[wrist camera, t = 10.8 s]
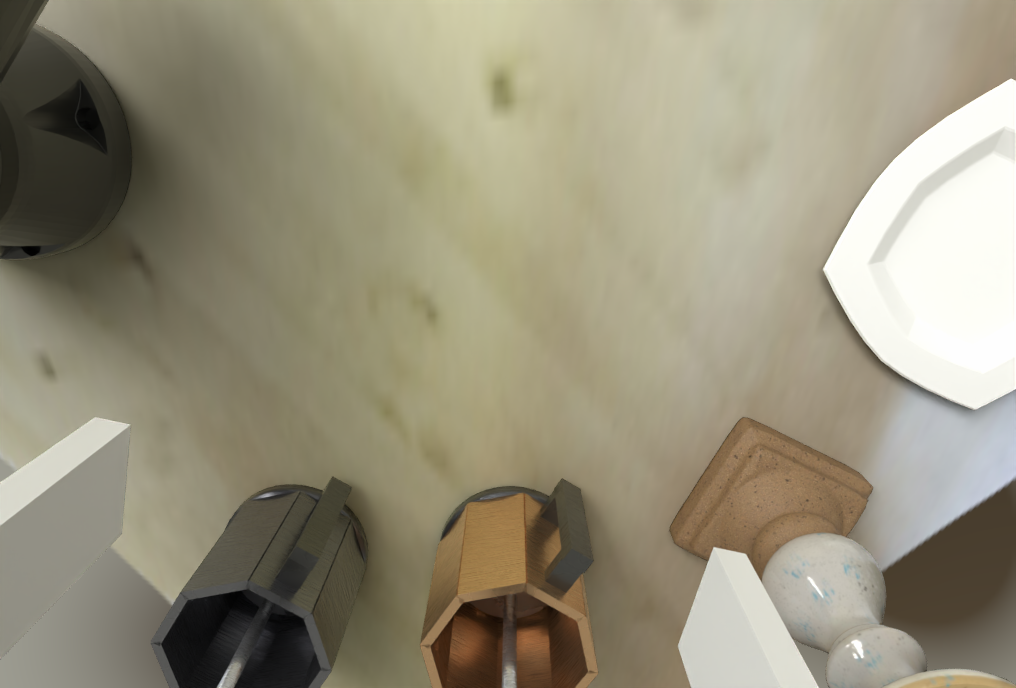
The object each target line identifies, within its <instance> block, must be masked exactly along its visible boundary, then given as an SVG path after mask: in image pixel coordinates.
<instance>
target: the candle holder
mask: <svg viewBox="0 0 1016 688" xmlns="http://www.w3.org/2000/svg"><path fill="white" fill-rule="evenodd" d="M872 490H873V486H872V485H871V484H870V483H869V482H868V481H867V480H866V479H865V478H864V477H863V476H862V475H861V474H860V473H859V472H857V471H855V470H853V469H852V468H850V467H848V466H846V465H845V464H842V463H840V462H838V461H836V460H834V459H832V458H830V457H828V456H826V455H824V454H822V453H820V452H818V451H816V450H814V449H812V448H810V447H808V446H806V445H804V444H802V443H800V442H798V441H796V440H794V439H792V438H790V437H788V436H786V435H784V434H782V433H780V432H778V431H776V430H774V429H772V428H769V427H767V426H765V425H763V424H761V423H759V422H756V421H754V420H752V419H749V418H744V417H743V418H741V419H740V420H739V421H738V422H737V424H736V425H735V426H734V428H733V429H732V431H731V432H730V433H729V435H728V436H727V438H726V439H725V441H724V442H723V444H722V445H721V447H720V449H719V450H718V452H717V453H716V455H715V456H714V458H713V459H712V461H711V462H710V464H709V466H708V467H707V469H706V470H705V472H704V473H703V475H702V476H701V478H700V479H699V481H698V483H697V484H696V486H695V487H694V489H693V490H692V492H691V493H690V495H689V496H688V498H687V500H686V501H685V503H684V504H683V506H682V507H681V509H680V510H679V512H678V514H677V516H676V517H675V519H674V521H673V522H672V524H671V526H670V530H669V531H670V533H671V536H672V538H673V540H674V543H675V544H677V545H678V546H680V547H681V548H683V549H685V550H687V551H689V552H691V553H692V554H694V555H697V556H699V557H701V558H703V559H705V560H707V561H709V558H710V556H711V553H712V550H713V547H716V548H720V549H725V550H730V551H735V552H739V553H744V554H746V555H747V557H748V559H749V561H750V562H751V564H752V566H753V568H754V570H755V572H756V573H757V575H758V577H759V579H760V581H761V583H762V584H763V586H764V588H765V590H766V592H767V594H768V595H769V597H770V599H771V601H772V603H773V605H774V606H775V608H776V610H777V612H778V614H779V616H780V617H781V619H782V621H783V623H784V625H785V626H786V628H787V630H788V632H789V634H790V636H791V637H792V639H794V640H796V641H798V642H800V643H802V644H804V645H807V646H810V647H812V648H815V649H818V650H822V651H824V652H826V653H828V654H829V656H828V660H827V664H826V681H827V684H828V687H829V688H1016V685H1015V684H1014V683H1012V682H1010V681H1008V680H1007V679H1004V678H1002V677H999V676H996V675H993V674H991V673H986V672H981V671H976V670H968V669H938V670H931V671H927V661H926V656H925V653H924V651H923V649H922V647H921V646H920V645H919V643H918V642H917V641H916V640H915V639H914V638H913V637H911V636H910V635H909V634H907V633H905V632H903V631H901V630H898V629H895V628H890V627H887V626H883V615H884V611H885V604H886V589H885V582H884V578H883V575H882V572H881V570H880V568H879V566H878V564H877V563H876V561H875V559H874V558H873V557H872V555H871V554H870V553H869V552H868V551H867V550H866V549H865V548H864V547H862V546H861V545H860V544H859V543H857V542H855V541H853V540H852V539H850V538H847V535H848V534H849V533H850V531H851V530H852V528H853V527H854V525H855V524H856V523H857V521H858V519H859V518H860V516H861V514H862V513H863V511H864V509H865V507H866V504H867V502H868V500H867V498H868V497H869V495H870V494H871V492H872Z"/></svg>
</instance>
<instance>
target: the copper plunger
mask: <svg viewBox="0 0 1016 688" xmlns="http://www.w3.org/2000/svg"><path fill="white" fill-rule="evenodd" d="M469 602H470V603H471V604H472V605H473V606H475V607H476V608H478V609H479V610H481V611H483V612H485V613H487V614H489V615H492V616H496V617H501V618H503V651H502V688H517V618H520V617H525V616H529V615H532V614H534V613H536V612H538V611H540V610H542V609H543V608H545V607H546V606H547V605H548V604H546V603H544V602H542V601H541V600H539V599H537V598H535V597H533V596H532V595H530V594H528V593H526V592H520V593H514V594H509V595H503V596H497V597H492V598H486V599H480V600H475V601H469Z"/></svg>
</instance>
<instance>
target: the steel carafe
mask: <svg viewBox="0 0 1016 688" xmlns="http://www.w3.org/2000/svg"><path fill="white" fill-rule="evenodd" d="M351 488H352V487H350V486H349V485H347V484H345V483H343V482H342V481H340V480H338V479H336V478H334V477H332V478H331V480H330V481H329V483H328V484H327V486H326V488H325V489H324V491H322V490H319V489H316V488H313V487H308V486H303V485H280V486H274V487H270V488H267V489H264V490H262V491H259V492H258V493H256V494H254V495H252V496H251V497H250V498H248V499H247V500H246V501H245V502H244V503H243V504H242V505H241V506H240V507H239V508H238V509H237V511H236V512H235V514H234V515H233V516H232V518H231V519H230V521H229V523H228V525H227V527H226V529H225V531H224V533H223V534H222V535H221V537H220V538H219V540H218V541H217V542H216V544H215V545H214V547H213V548H212V549H211V551H210V552H209V553H208V555H207V556H206V558H205V559H204V560H203V562H202V563H201V565H200V566H199V567H198V569H197V570H196V572H195V573H194V574H193V576H192V577H191V579H190V580H189V581H188V583H187V584H186V585H185V587H184V588H183V590H182V591H181V592H180V594H179V596H178V597H177V599H176V601H175V602H174V604H173V606H172V607H171V609H170V611H169V612H168V614H167V616H166V617H165V619H164V621H163V622H162V624H161V625H160V627H159V629H158V631H157V632H156V634H155V636H154V637H153V639H152V640H151V645H152V647H153V650H154V652H155V654H156V657H157V659H158V662H159V664H160V666H161V669H162V671H163V673H164V676H165V678H166V680H167V683H168V685H169V687H170V688H217V686H218V684H219V683H220V681H221V679H222V677H223V675H224V673H225V671H226V669H227V668H228V666H229V664H230V662H231V660H232V658H233V656H234V654H235V652H236V651H237V649H238V647H239V645H240V643H241V641H242V639H243V637H244V636H245V634H246V632H247V630H248V628H249V626H250V624H251V622H252V620H253V619H254V617H255V615H256V613H257V611H258V609H259V606H257V605H256V604H254V603H253V602H252V601H250V600H249V599H248V598H247V597H246V596H245V595H244V593H243V592H242V591H241V590H246V589H249V590H250V591H252V592H254V593H256V594H258V595H260V596H262V597H264V598H266V599H267V600H269V601H271V602H273V603H275V604H277V605H279V606H281V607H283V608H285V609H286V610H288V611H290V612H292V613H294V614H296V615H281V614H276V613H273V612H272V613H271V615H270V617H269V619H268V621H267V623H266V625H265V627H264V629H263V631H262V633H261V635H260V637H259V639H258V641H257V643H256V645H255V647H254V649H253V651H252V653H251V655H250V657H249V659H248V661H247V663H246V665H245V667H244V669H243V671H242V673H241V675H240V677H239V679H238V681H237V683H236V685H235V687H234V688H320V687H321V685H322V684H323V682H324V681H325V680H326V678H327V677H328V675H329V674H330V673H331V671H332V668H333V665H334V662H335V659H336V656H337V653H338V650H339V647H340V644H341V641H342V638H343V635H344V632H345V629H346V626H347V623H348V620H349V617H350V614H351V611H352V608H353V605H354V602H355V599H356V596H357V593H358V590H359V587H360V584H361V581H362V579H363V576H364V573H365V570H366V563H367V558H368V545H367V540H366V535H365V533H364V530H363V528H362V526H361V524H360V522H359V520H358V519H357V517H356V516H355V515H354V513H353V512H352V511H351V510H350V509H349V508H348V507H347V506H346V505H345V501H346V499H347V497H348V495H349V492H350V490H351Z"/></svg>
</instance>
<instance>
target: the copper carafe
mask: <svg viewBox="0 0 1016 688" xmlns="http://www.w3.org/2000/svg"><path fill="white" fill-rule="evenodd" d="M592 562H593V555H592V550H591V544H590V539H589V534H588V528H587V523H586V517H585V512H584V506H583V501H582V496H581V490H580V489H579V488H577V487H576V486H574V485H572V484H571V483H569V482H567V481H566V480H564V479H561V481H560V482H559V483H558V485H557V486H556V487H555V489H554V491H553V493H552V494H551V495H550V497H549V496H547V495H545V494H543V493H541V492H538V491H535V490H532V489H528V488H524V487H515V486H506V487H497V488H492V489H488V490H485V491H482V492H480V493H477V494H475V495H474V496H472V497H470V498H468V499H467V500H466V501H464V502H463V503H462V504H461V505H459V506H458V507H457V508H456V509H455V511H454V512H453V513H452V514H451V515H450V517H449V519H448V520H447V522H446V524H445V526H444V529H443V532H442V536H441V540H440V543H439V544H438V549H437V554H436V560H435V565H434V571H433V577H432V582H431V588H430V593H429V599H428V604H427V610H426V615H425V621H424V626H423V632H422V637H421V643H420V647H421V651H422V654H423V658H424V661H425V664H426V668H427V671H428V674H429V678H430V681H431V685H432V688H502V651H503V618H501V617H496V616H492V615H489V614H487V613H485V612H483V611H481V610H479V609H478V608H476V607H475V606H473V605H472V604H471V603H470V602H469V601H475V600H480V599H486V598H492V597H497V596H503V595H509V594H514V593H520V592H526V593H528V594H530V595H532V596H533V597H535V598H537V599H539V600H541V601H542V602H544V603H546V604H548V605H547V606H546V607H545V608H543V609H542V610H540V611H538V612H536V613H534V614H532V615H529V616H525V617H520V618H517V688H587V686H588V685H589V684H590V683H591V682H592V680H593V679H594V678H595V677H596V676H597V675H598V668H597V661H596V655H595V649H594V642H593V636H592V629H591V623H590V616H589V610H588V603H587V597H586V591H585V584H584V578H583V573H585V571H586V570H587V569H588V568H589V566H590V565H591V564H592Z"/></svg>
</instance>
